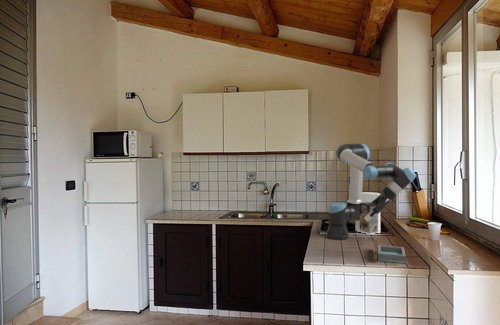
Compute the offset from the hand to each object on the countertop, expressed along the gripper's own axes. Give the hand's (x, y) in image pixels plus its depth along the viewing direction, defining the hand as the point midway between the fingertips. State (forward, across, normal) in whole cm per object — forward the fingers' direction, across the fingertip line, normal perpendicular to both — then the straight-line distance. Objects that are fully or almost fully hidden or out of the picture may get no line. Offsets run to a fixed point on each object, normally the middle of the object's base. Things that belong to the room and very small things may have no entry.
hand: (363, 218), depth 201 cm
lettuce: (+4, +84, -27) cm, 88 cm away
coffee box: (+3, 0, -8) cm, 8 cm away
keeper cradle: (+5, -2, -26) cm, 26 cm away
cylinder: (+5, +58, -26) cm, 64 cm away
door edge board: (+11, 0, -20) cm, 23 cm away
